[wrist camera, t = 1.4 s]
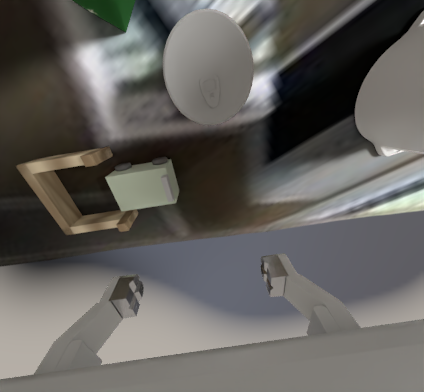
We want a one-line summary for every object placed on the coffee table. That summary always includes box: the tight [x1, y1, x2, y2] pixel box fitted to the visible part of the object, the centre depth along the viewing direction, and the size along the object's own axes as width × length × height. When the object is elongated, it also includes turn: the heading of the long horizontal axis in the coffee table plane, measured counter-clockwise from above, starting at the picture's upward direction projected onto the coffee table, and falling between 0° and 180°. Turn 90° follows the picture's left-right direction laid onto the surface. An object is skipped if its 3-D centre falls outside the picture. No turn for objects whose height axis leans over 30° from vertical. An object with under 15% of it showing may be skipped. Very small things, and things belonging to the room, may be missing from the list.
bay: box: [16, 147, 138, 235], centre depth 28 cm, size 12×13×5 cm
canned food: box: [163, 9, 253, 126], centre depth 19 cm, size 8×8×11 cm
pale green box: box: [105, 157, 179, 212], centre depth 27 cm, size 9×7×6 cm
